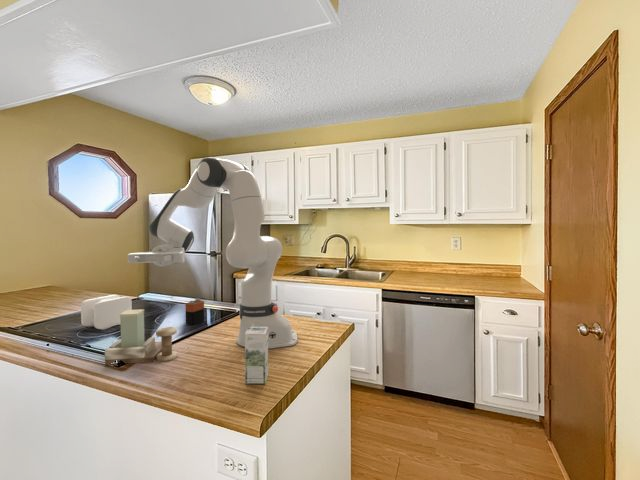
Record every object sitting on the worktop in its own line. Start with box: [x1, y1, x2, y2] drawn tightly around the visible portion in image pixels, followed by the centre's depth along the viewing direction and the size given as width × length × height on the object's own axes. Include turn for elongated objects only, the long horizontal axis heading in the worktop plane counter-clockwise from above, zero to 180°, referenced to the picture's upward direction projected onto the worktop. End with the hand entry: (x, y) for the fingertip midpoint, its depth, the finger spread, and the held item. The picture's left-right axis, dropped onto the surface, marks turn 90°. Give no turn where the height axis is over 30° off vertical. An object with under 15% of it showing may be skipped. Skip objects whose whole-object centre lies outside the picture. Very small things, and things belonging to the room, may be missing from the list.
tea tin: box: [120, 308, 146, 348], centre depth 101 cm, size 5×5×13 cm
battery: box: [185, 298, 205, 326], centre depth 134 cm, size 4×7×10 cm, turn 155°
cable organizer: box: [80, 294, 133, 331], centre depth 130 cm, size 15×11×12 cm
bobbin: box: [155, 326, 178, 362], centre depth 100 cm, size 6×6×9 cm
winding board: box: [104, 336, 162, 366], centre depth 102 cm, size 14×13×4 cm
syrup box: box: [244, 327, 269, 385], centre depth 86 cm, size 6×6×14 cm
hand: (149, 259), depth 114 cm, fingers open, 8 cm apart
